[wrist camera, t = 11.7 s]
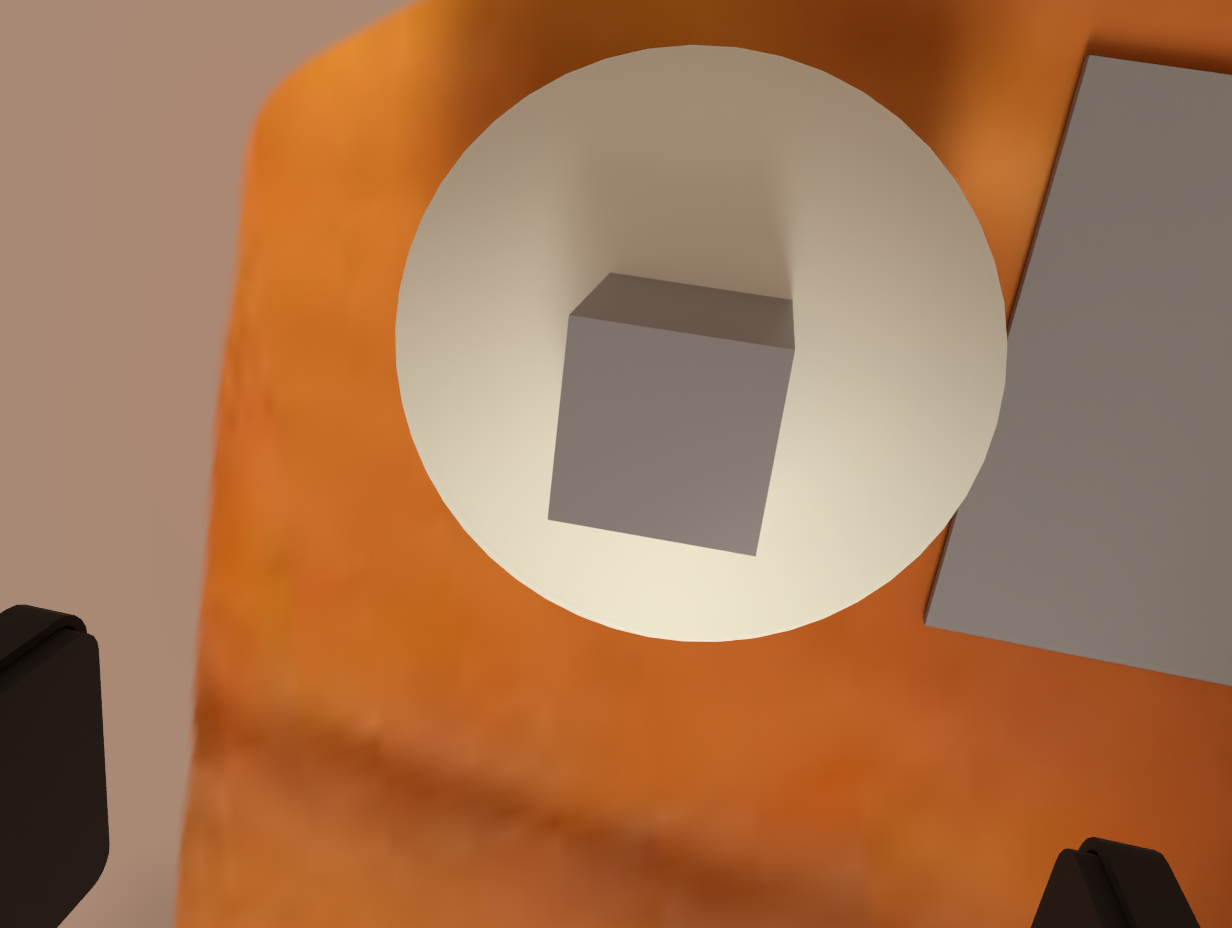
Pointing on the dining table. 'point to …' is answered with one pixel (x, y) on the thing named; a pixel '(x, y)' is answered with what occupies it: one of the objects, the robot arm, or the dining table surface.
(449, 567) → the dining table surface
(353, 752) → the dining table surface
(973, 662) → the dining table surface
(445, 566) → the dining table surface
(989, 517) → the mat
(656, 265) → the lid
